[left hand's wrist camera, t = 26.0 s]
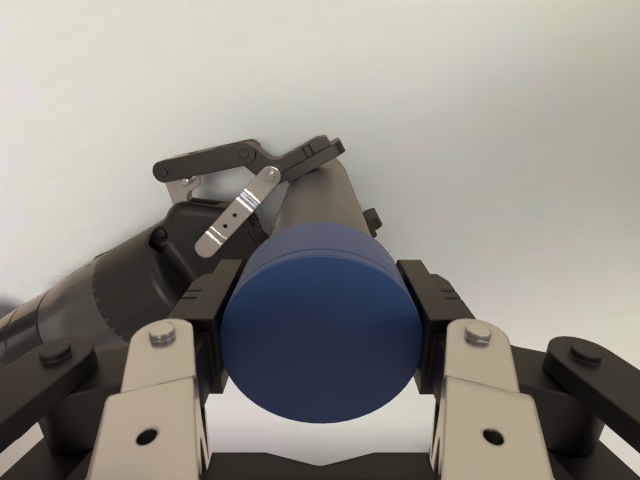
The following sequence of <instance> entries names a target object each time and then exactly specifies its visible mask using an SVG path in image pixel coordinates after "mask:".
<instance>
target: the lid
mask: <svg viewBox="0 0 640 480" xmlns="http://www.w3.org/2000/svg"><path fill="white" fill-rule="evenodd" d="M220 338H221V346H222V354H223V362H224V366H225V368H226V371H227V373H228V374H229V376H230V378H231V379H232V381H233V382H234V384H235V385H236V386H237V387H238V389H239V390H240V391H241V392H242V393H243V394H244V395H245V396H246V397H247V398H249V399H250V400H251V401H253V402H254V403H255V404H257V405H258V406H260V407H262V408H263V409H265V410H267V411H269V412H271V413H273V414H276V415H278V416H281V417H284V418H287V419H290V420H295V421H299V422H307V423H336V422H342V421H348V420H351V419H355V418H359V417H361V416H364V415H366V414H369V413H371V412H373V411H375V410H377V409H379V408H381V407H382V406H384V405H385V404H387V403H388V402H390V401H391V400H392V399H393V398H394V397H396V396H397V395H398V394H399V393H400V392H401V391H402V390H403V389H404V388H405V386H406V385H407V384H408V382H409V381H410V380H411V378H412V377H413V375H414V373H415V371H416V369H417V367H418V363H419V356H420V348H421V340H422V323H421V319H420V316H419V313H418V310H417V308H416V306H415V304H414V302H413V300H412V298H411V296H410V294H409V291H408V289H407V287H406V285H405V283H404V281H403V279H402V277H401V275H400V272H399V270H398V268H397V266H396V264H395V262H394V260H393V259H392V257H391V256H390V254H389V253H388V252H387V250H386V249H385V248H384V247H383V246H382V245H381V244H380V243H379V242H377V241H376V240H375V239H374V238H372V237H371V236H369V235H368V234H366V233H364V232H363V231H361V230H358V229H356V228H354V227H351V226H347V225H344V224H340V223H334V222H308V223H302V224H298V225H294V226H291V227H289V228H286V229H283V230H282V231H280V232H278V233H276V234H274V235H273V236H271V237H270V238H268V239H267V240H265V241H264V242H263V243H262V244H261V245H260V246H259V247H258V248H257V249H256V250H255V252H254V253H253V254H252V255H251V257H250V259H249V260H248V262H247V264H246V266H245V268H244V270H243V272H242V274H241V277H240V279H239V281H238V283H237V285H236V287H235V290H234V292H233V294H232V296H231V298H230V300H229V303H228V305H227V307H226V309H225V312H224V314H223V317H222V321H221V325H220Z"/></svg>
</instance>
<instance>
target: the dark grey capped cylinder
mask: <svg viewBox="0 0 640 480" xmlns="http://www.w3.org/2000/svg"><path fill="white" fill-rule="evenodd" d="M308 222H334V223H340V224H344V225H347V226H351V227H354V228H356V229H358V230H361V231H363V232H364V233H366V234H368V235H369V236H371V234H370V231H369V229H368V226H367V224H366V221H365V219H364V216H363V214H362V211H361V208H360V206H359V203H358V201H357V198H356V196H355V193H354V191H353V188H352V186H351V183H350V180H349V178H348V175H347V173H346V170H345V168H344V167H343V165H342V164H341V163H340V162H339V161H338V160H337V159H335V158H333V159H331V160H330V161H328V162H326V163H324V164H322V165H321V166H319V167H317V168H315V169H313V170H312V171H310V172H308V173H306V174H304V175H302V176H301V177H299V178H297V179H295V180H294V181H292V182H290V185H289V187H288V190H287V193H286V195H285V198H284V201H283V203H282V206H281V208H280V211H279V214H278V216H277V219H276V222H275V224H274V227H273V229H272V232H271V235H270V237H271V236H273V235H274V234H276V233H278V232H280V231H282V230H283V229H286V228H289V227H291V226H294V225H298V224H302V223H308ZM270 237H269V238H270ZM371 237H372V236H371Z"/></svg>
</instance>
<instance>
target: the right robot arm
mask: <svg viewBox="0 0 640 480" xmlns="http://www.w3.org/2000/svg"><path fill="white" fill-rule="evenodd" d="M343 152H345V149H344V147H343V145H342V143H341V141H340V139H339V138H336V139H334V140H332V141H330V142H329V140H328V138H327V136H326V135H322V136H316V137H315V138H313V139H311V140H309V141H308V142H306V143H304V144H302V145H301V146H299V147H297V148H295V149H294V150H292V151H290V152H288V153H287V154H285V155H283V156H280V157H275V156H272V155H270V154H269V153H267V152H266V151H265V150H264V149H263V148H262V147H261V145H260V143H259V142H258V141H256V140H254V139H248V140H244V141H239V142H235V143H231V144H226V145H222V146H217V147H213V148H208V149H204V150H200V151H195V152H191V153H186V154H182V155H178V156H174V157H171V158H168V159H165V160H163V161H160V162H157V163H156V164H155V165H154V166H153V174H154V176H155V178H156V179H157V180H158V181H160V182H164V183H165V184H166V186H167V189H168V191H169V194H170V197H171V199H172V202H173V206H172V207H171V208H170V210H169V211H168V214H167V216H166V217H165V219H164V220H162V221H161V222H159V223H157V224H155V225H154V226H152V227H150V228H149V229H147V230H145V231H143V232H142V233H140V234H138V235H136V236H135V237H133V238H131V239H129V240H128V241H126V242H124V243H122V244H121V245H119V246H117V247H115V248H114V249H112V250H110V251H108V252H105V253H102V254H100V255H98V256H96V257H95V258H94V259H93V261H91V262H89V263H87V264H86V265H84V266H82V267H81V268H79V269H77V270H76V271H74V272H73V273H72V274H70V275H69V276H68V277H67V278H65V279H64V280H63V281H62V282H61V283H59V284H58V285H56V286H55V287H53V288H51V289H50V290H48V291H46V292H44V293H43V294H41V295H39V296H37V297H36V298H34V299H32V300H30V301H29V302H27V303H25V304H23V305H22V306H20V307H18V308H16V309H15V310H13V311H11V312H10V313H8V314H7V315H6V316H4V317H3V318H2V319H1V320H0V370H2V369H3V368H5V367H6V366H8V365H9V364H11V363H12V362H14V361H15V360H17V359H18V358H20V357H22V356H23V355H25V354H26V353H28V352H29V351H31V350H32V349H34V348H36V347H37V346H39V345H41V344H44V343H46V342H48V341H51V340H54V339H57V338H61V337H66V336H75V335H79V336H85V337H88V338H90V339H91V340H92V342H93V345H94V348H95V352H99V351H104V350H109V349H114V348H120V347H124V346H128V345H130V342H131V339H132V337H133V335H134V334H135V333H136V332H137V331H138V330H140V329H141V328H143V327H144V326H146V325H148V324H150V323H153V322H156V321H159V320H164V319H167V317H168V316H169V315H170V313H171V312H172V310H173V309H174V308H175V306H176V305H177V303H178V302H179V301H180V299H182V297H183V295H184V294H185V292H187V290H188V288H189V287H190V285H191V284H192V283H193V281H195V280H196V279H198V278H199V277H201V276H202V275H204V274H212V273H213V272H214V270H215V269H216V267H217V266H218V264H219V262H220V261H221V260H245V263H246V264H247V262H248V260H249V259H250V257H251V255H252V254H253V253H254V252H255V250H256V249H257V248H258V247H259V246H260V245H261V244H262V243H263V242H264V241H265V240H267V239H268V238H269V237H270V236H269V235H267V234H266V233H265V232H264V231H263V230H262V228H261V225H260V221H259V218H258V217H257V215H256V214H255V212H254V210H255V209H256V208H257V206H258V205H259V204H260V203H261V202H262V201H263V200H264V199H265V198H266V197H267V195H268V194H269V193H270V192H271V191H272V190H273V189H274V188H275V187H276V186H277V185H278V184H280V183H282V182H283V181H285V180H287V181H288V183H290V182H292V181H294V180H295V179H297V178H299V177H301V176H302V175H304V174H306V173H308V172H310V171H312V170H313V169H315V168H317V167H319V166H321V165H322V164H324V163H326V162H328V161H330V160H331V159H333V158H335V157H337V156H339V155H340V154H342V153H343ZM239 166H245V167H247V168H248V169H249V170H250V171H251V172H253V173H254V174H255V175H256V177H255V178H254V179H253V180H252V181H251V182H250V184H249V185H248V186H247V187H246V188H245V189H244V190H243V191H242V192H241V193H240V195H239V196H238V197H237V198H236V199H235V200H234V201H233V202H224V201H216V200H208V199H200V198H192V191H193V189H195V188H196V187H198V186H199V185H201V184H202V183H203V181H204V175H203V174H208V173H212V172H217V171H221V170H226V169H230V168H235V167H239ZM362 214H363V216H364V219H365V221H366V224H367V226H368V229H369V231H370V234H371V236H372V238H375V237H376V236H377V234H376V232H375V230H377V229H378V228H380V227H381V226H382V222H381V220H380V218H379V216H378V214H377V212H376V211H375V209H374V208H371V209H368V210H366V211H364V212H362ZM29 429H30V428H29ZM29 429H28V430H29ZM28 430H27V431H28ZM27 431H26V432H27ZM26 432H25V433H26ZM25 433H24V434H25ZM22 435H23V434H22ZM22 435H21V436H22ZM21 436H20V437H21ZM20 437H19V438H20ZM19 438H18V439H19ZM429 459H430V457H429Z"/></svg>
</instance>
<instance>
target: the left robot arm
mask: <svg viewBox="0 0 640 480" xmlns="http://www.w3.org/2000/svg"><path fill="white" fill-rule="evenodd" d="M245 266H246V263H245V260H221V261H220V262H219V264H218V266H217V267H216V269H215V270H214V272H213V273H212V274H204V275H202V276H201V277H199V278H198V279H196V280H195V281H193V283H192V284H191V285H190V287H189V288H188V290H187V292H185V294H184V295H183V297H182V299H180V301H179V302H178V303H177V305H176V306H175V308H174V309H173V310H172V312H171V313H170V315H169V316H168V317H167V319H164V320H159V321H156V322H153V323H150V324H148V325H146V326H144V327H143V328H141V329H140V330H138V331H137V332H136V333H135V334H134V335H133V337H132V339H131V342H130V345H128V346H124V347H120V348H114V349H109V350H104V351H99V352H95V348H94V345H93V342H92V340H91V339H90V338H88V337H85V336H79V335H75V336H66V337H61V338H57V339H54V340H51V341H48V342H46V343H44V344H41V345H39V346H37V347H36V348H34V349H32V350H31V351H29V352H28V353H26V354H25V355H23V356H22V357H20V358H18V359H17V360H15V361H14V362H12V363H11V364H9V365H8V366H6V367H5V368H3V369H2V370H0V453H1V452H3V451H4V450H5V449H6V448H7V447H8V446H10V445H11V444H12V443H13V442H14V441H15V440H17V439H18V438H19V437H20V436H21V435H22V434H24V433H25V432H26V431H27V430H28V429H29V428H31V427H32V426H33V425H34V424H35V423H36V422H39V425H40V428H41V430H42V433H43V435H44V438H43V439H41V440H40V441H39V442H38V443H37V444H36V445H35V446H34V447H33V448H32V449H31V450H29V451H28V452H27V453H26V454H25V455H24V456H23V457H22V458H21V459H20V460H19V461H17V462H16V463H15V464H14V465H13V466H12V467H11V468H10V469H9V470H8V471H6V472H5V473H4V474H3V475H2V476H1V477H0V480H85V479H86V480H554V479H555V480H640V477H639V476H638V475H637V474H636V473H635V472H634V471H632V470H631V469H630V468H629V467H628V466H627V465H626V464H625V463H624V462H623V461H622V460H620V459H619V458H618V457H617V456H616V455H615V454H614V453H613V452H612V451H611V450H609V449H608V448H607V447H606V446H605V445H604V444H603V443H602V442H601V441H600V440H599V438H600V435H601V433H602V430H603V428H604V425H605V424H606V425H607V426H608V427H609V428H611V429H612V430H613V431H614V432H615V433H616V434H618V435H619V436H620V437H621V438H622V439H623V440H625V441H626V442H627V443H628V444H629V445H630V446H632V447H633V448H634V449H635V450H636V451H637V452H639V453H640V370H638V369H637V368H635V367H634V366H632V365H631V364H629V363H628V362H626V361H625V360H623V359H622V358H620V357H618V356H617V355H615V354H614V353H612V352H611V351H609V350H607V349H606V348H604V347H602V346H600V345H598V344H596V343H593V342H590V341H588V340H584V339H581V338H576V337H568V336H562V337H556V338H553V339H551V340H550V342H549V344H548V347H547V351H546V352H541V351H536V350H531V349H525V348H520V347H516V346H513V345H510V342H509V339H508V337H507V335H506V334H505V333H504V332H503V331H502V330H500V329H499V328H497V327H496V326H494V325H492V324H490V323H487V322H484V321H481V320H476V318H475V317H474V316H473V314H472V313H471V312H470V310H469V309H468V307H467V306H466V305H465V303H464V302H463V301H462V299H460V296H459V295H458V294H457V292H455V290H454V288H453V287H452V285H451V284H450V283H449V282H448V281H447V280H445V279H444V278H442V277H441V276H439V275H437V274H429V272H428V270H427V269H426V267H425V266H424V264H423V263H422V261H421V260H397V262H396V266H397V268H398V270H399V272H400V275H401V277H402V279H403V281H404V283H405V285H406V287H407V289H408V291H409V294H410V296H411V298H412V300H413V302H414V304H415V306H416V308H417V310H418V313H419V316H420V319H421V323H422V340H421V348H420V356H419V363H418V367H417V369H416V371H415V373H414V375H413V376H414V379H415V382H416V385H417V388H418V391H419V394H434V397H435V399H436V403H435V409H434V417H433V429H432V440H431V452H430V459H429V456H428V453H371V454H367V455H363V456H360V457H356V458H352V459H348V460H344V461H340V462H336V463H333V464H329V465H324V466H316V465H311V464H307V463H304V462H300V461H296V460H292V459H288V458H284V457H280V456H277V455H273V454H269V453H212V456H211V459H210V452H209V440H208V429H207V417H206V409H205V403H206V400H207V398H208V395H209V394H223V391H224V388H225V385H226V382H227V379H228V376H229V374H228V373H227V371H226V368H225V366H224V362H223V354H222V346H221V338H220V325H221V321H222V317H223V314H224V312H225V309H226V307H227V305H228V303H229V300H230V298H231V296H232V294H233V292H234V290H235V287H236V285H237V283H238V281H239V279H240V277H241V274H242V272H243V270H244V268H245Z"/></svg>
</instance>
